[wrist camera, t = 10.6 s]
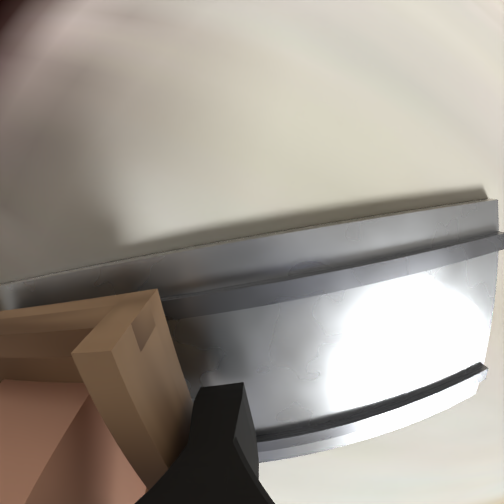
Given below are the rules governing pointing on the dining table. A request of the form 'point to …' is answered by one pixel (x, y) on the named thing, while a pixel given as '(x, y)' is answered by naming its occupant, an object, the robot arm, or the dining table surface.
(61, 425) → the block
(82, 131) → the dining table surface
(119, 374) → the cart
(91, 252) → the dining table surface
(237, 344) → the rail
